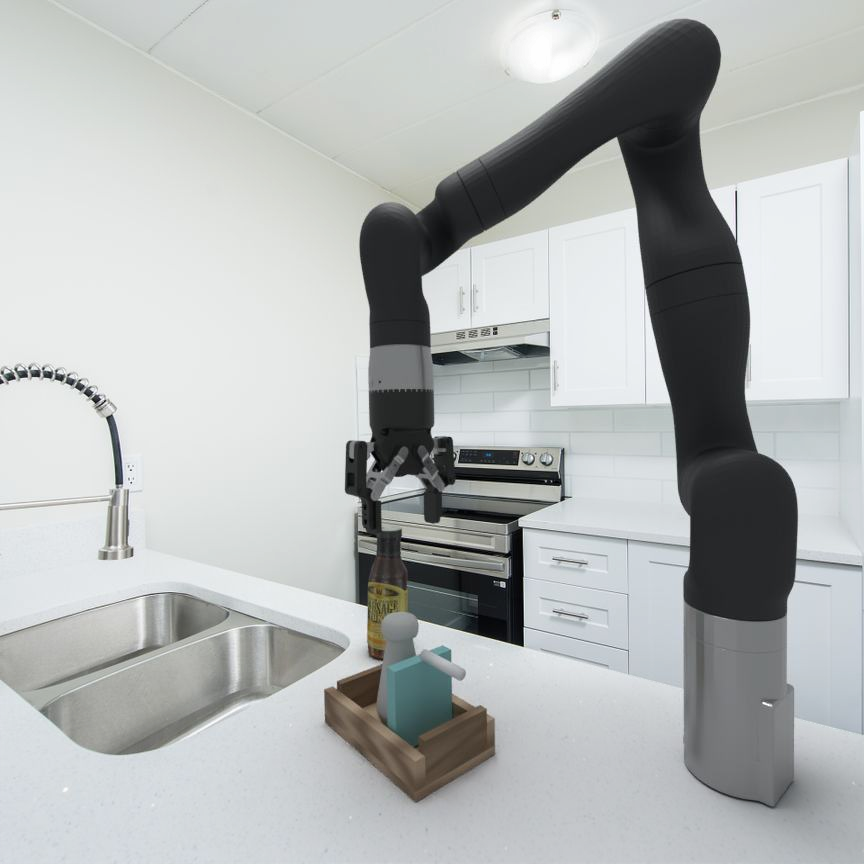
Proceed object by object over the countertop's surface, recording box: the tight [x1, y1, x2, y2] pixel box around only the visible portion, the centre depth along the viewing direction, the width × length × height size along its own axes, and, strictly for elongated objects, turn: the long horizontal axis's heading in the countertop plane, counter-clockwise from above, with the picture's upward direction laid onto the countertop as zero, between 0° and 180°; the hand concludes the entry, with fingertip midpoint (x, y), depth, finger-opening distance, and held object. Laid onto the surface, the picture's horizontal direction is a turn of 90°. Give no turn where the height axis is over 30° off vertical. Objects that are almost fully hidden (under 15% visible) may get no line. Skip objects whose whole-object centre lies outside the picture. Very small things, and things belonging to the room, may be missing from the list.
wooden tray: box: [323, 663, 496, 803], centre depth 61 cm, size 18×11×6 cm, turn 40°
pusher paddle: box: [386, 645, 467, 747], centre depth 57 cm, size 8×8×10 cm
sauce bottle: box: [366, 524, 409, 660], centre depth 83 cm, size 7×6×20 cm
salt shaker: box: [376, 611, 420, 728], centre depth 62 cm, size 6×6×13 cm
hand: (404, 527), depth 62 cm, fingers open, 8 cm apart
